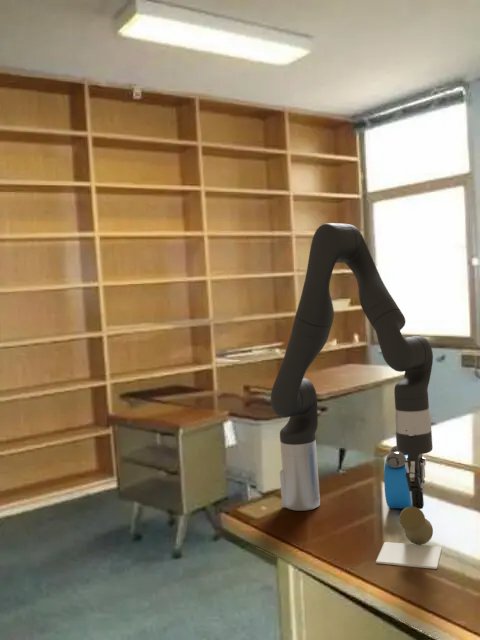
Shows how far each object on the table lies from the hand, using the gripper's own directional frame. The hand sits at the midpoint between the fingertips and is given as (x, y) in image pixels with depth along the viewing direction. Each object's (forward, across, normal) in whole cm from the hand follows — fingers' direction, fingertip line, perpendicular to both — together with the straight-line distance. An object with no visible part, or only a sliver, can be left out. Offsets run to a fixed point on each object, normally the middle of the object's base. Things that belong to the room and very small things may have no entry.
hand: (418, 507), depth 142 cm
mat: (+8, +8, -1) cm, 11 cm away
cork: (+5, 0, 0) cm, 5 cm away
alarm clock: (+8, -20, -7) cm, 23 cm away
